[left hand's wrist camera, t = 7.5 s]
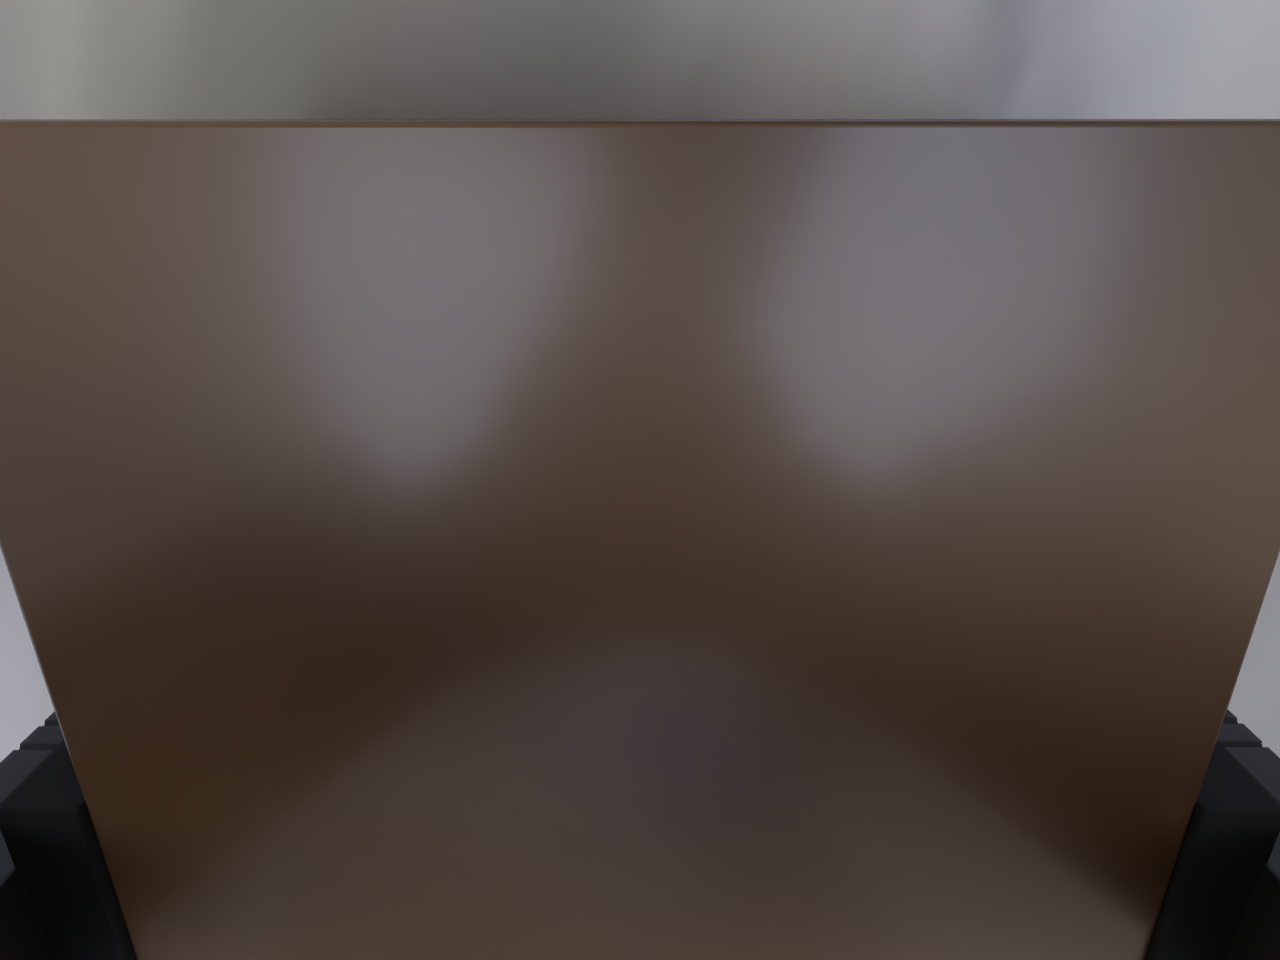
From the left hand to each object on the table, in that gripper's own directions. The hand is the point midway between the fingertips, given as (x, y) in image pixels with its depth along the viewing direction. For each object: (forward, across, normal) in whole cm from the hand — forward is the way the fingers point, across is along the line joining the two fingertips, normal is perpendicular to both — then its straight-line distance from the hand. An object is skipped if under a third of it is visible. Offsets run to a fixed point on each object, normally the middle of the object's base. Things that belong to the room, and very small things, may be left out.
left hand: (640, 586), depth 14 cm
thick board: (+1, 0, -20) cm, 20 cm away
